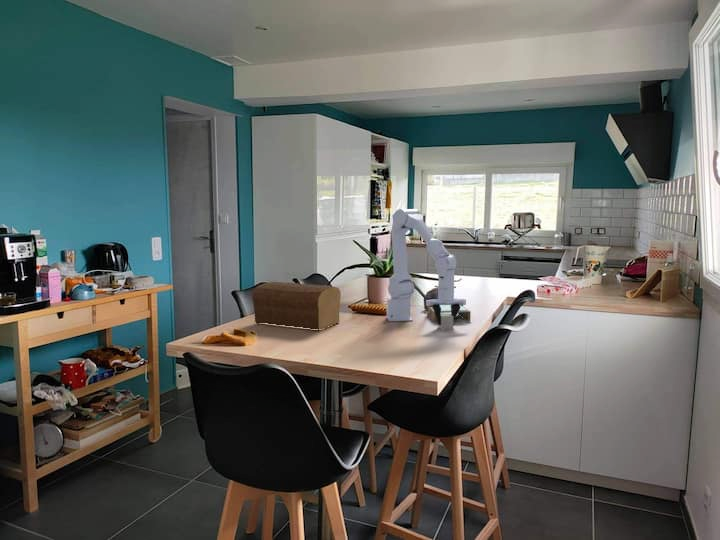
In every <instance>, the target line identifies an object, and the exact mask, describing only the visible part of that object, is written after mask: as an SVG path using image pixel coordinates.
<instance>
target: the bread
mask: <svg viewBox="0 0 720 540" xmlns="http://www.w3.org/2000/svg"><path fill="white" fill-rule="evenodd" d="M341 295H342V294H341V289H339V287H336V286H333V285H325V284H324V285H323V284H322V285H321V284H310V283H308V284H306V283H301V282H300V283H299V282H282V281H280V282H279V281H269V282H265V283H262V284H260V285H258V286H255V288H254V289H253V291H252V294H251V297H252V302H253V304H252V305H253V311H254V323H255V322H256V323H268V324H276V325H285V326H294V327H303V328H310V329H318V330H319V329H323V328H326V327H328V326H331V325H333V324H336V323H338V322H339V323H340V313H341V311H340V309H341V307H340V306H341V305H340V304H341ZM339 323H338V324H339ZM336 325H337V324H336ZM333 326H334V325H333ZM331 327H332V326H331ZM328 328H329V327H328ZM326 329H327V328H326Z"/></svg>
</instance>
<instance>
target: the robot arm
mask: <svg viewBox="0 0 720 540" xmlns="http://www.w3.org/2000/svg"><path fill="white" fill-rule="evenodd" d="M391 218H392V225H391V230H390V231H391V244H392V245H391V246H392V247H391V248H392V261H393V262H392V263H393V266H392V267H393V274H392V275H391V277H390V278H389V284H388V288H387V291H388V294H389V296H390V297H387V299H386V319H387V320H388V322H412V321H414V320H413V318H412V317H411V297H412V294H413V293H414V292H415V285H414V281H413V277H412V276H411V274H410V273H409V271H408V255H407V254H408V253H407V239H406V234H407V233H408V231H409V230H410V229H413V230H415V231H416V232H417V234H418V235H419V236H420V237H421V239H422V241H424V243H426V251H428V254H429V255H430V256H431V258H432V259H433V260H434V262H435V263H434V265H435V269H436V270H437V271H436V272H437V276H438V283H437V284H438V287H437V288H438V299H432V300H426V305H427V306H430V305H432V308H433V310H434V312H435V315H436V318H437V322H436V323H437V325H441V318H440V316H441V314H442V313H441V308H440V305H451V313H450V314H452V315H453V326H454V325H455V323H456V319H457V315H458V312H459V310H460V305H463V306H466V305H467V300H466V299H465V298H455V270H456V269H457V267H458V264H459V263H458V259H457V258H456V256H455V255H454V254H451V253H450V252H449V251H448V250H447V249H446V247H445V246H444V245H443V241H442V240H440V239H437V238H435V237H434V236H433V233H432V232H431V231H430V229H429V227H428V226H427V224H426V223H425V221H424V216H423V214H421V212H420V211H419V210H418V209H417V208H411V209H410V208H405V209H404V208H399V209H396V211H395V212H394V213H393V214H392V217H391ZM442 303H443V304H442Z"/></svg>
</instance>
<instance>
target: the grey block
mask: <svg viewBox="0 0 720 540" xmlns="http://www.w3.org/2000/svg"><path fill="white" fill-rule="evenodd" d="M440 318H441V325H438V324H437V325H438V328H439V327H440V328H439V329H440V330H441V329H447V330H454V325H453V315H452V314H451V313H441V316H440Z"/></svg>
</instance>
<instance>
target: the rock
mask: <svg viewBox="0 0 720 540" xmlns="http://www.w3.org/2000/svg"><path fill="white" fill-rule="evenodd" d="M425 297H426V298H427V299H428V300H432V299H438V287H433V288H431V289H429V290H428V291H427V292H426V293H425V295H424V297H423V309H424V310H426V311H427V305H426V300H427V299H426V298H425Z"/></svg>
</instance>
